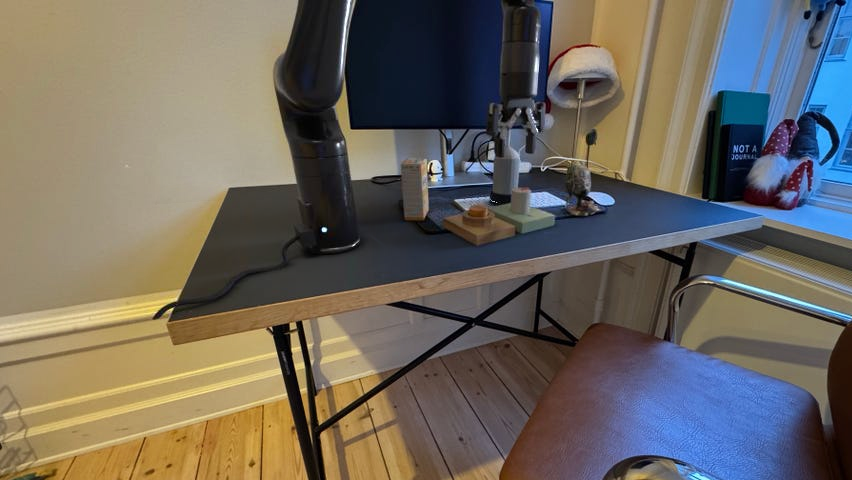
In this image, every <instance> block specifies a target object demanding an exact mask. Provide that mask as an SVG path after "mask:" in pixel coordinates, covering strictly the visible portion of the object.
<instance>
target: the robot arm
mask: <svg viewBox="0 0 852 480" xmlns="http://www.w3.org/2000/svg"><path fill="white" fill-rule="evenodd" d="M500 1H501V2H500V4H501V8H502V14H503V15H502V16H503V20H502V41H501V43H502V44H501V52H500V63H499V64H500V67H499V96H500V98H501V100H500V102H499V103H495V102H489V103H487V105H486V107H487V108H486V121H485V122H486V123H485V124H486V125H485V134H486V135H487V136H489V137H492V138H493V142H494V143H493V144H494V145H493V153H494V156H495V155H496V157H499V158H503V157H504V154H505V144H506V133H507V132H508V130H510V131H511V129H512V128H513V127H517V126H521V127H522V128H523V129H524V131H525V133H526V135H525V148H524V151H525V153H526V154H529V155H534V153H535V151H536V148H537V145H536V144H537V136H538V135H539V134H540V133H544V131H545V127H546V126H545V125H546V124H545V123H546V102H545V101H535V97H536V96H537V95H538V82H539V67H540V37H541V12H540V11H541V10H540V9H539V7H537V6H535V0H500ZM356 4H357V0H297V6H296V11H295V15H294V20H293V24H292V28H291V31H290V36H289V39H288V42H287V46H286V49H285V51H283V52H282V53H280V55H279V56H278V57H277V58H276V59H275V60H274V61H275V62H274V64H273V68H272V81H273V86H274V92H275V96H276V101H277V106H278V110H279V115H280V120H281V123H282V129H283V133H284V135H285V138H286V142H287V145H288V149H289V153H290V156H291V157H290V158H291V162H292V166H293V167H292V168H293V172H294V176H295V177H294V178H295V183H296V186H297V191H298V196H297V198H296V199H297V203H298V209H299V213H300V218H301V222H302V223H300V224H294V225H293V227H294V231H295V236H294V237H293V238H291V239H290V240H288V241H287V242H286V243H285V244H284V245H283V247H282V249H281V256H282V261H281V262H280V263H279V264H278V265H276V266H272V267H264V268H252V269H247V270H244V271H241V272H239V273H237V274H236V275H234V276H233V277H232V278H230V279H229V281H228V282H227V283H226V285H225V286H224V287H223V288H222V289H221V290H219V291H218V292H215V293H213V294H211V295H207V296H203V297H198V298H189V299H181V300H175V301H173V302H169V303H167V304H165V305H164V306H162V307H161V308H160V309H159V310H157V312H156V313H155V314H154V315H153V317H152V319H151V320H152V321H155V320H158V319H160V318H162V317H163V316H164V314H166V312H168V311H170V310H171V309H174V308H177V307H181V306H187V305H197V304H203V303H207V302H208V303H209V302H212V301H214V300H217V299H218V298H220V297H222V296H224V295H226V294H227V293H228V292H229V291H230V289H231V288H232V287H233V285H234V284H235V283H236V282H237V281H238V280H239V279H241V278H243V277H245V276H249V275H253V274H260V273H261V274H262V273H266V272H272V271H276V270H279V269H282V268H284V267H285V266H286V265H287V264H288V261H289V259H288V258H289V257H288V255H287V250H288V249H289V247H291V245H293V244H294V243H295V242H297V241H298V243H299V245H300V246H301V247H302V248H303V249H304V248H309V250H310V251H311V252H312V253H313V255H315V256H316V255H321V254H323V255H325V254H326V255H327V254H328V255H330V254H339V253H345V252H348V251H351V250H353V249H355V248H357V247H358V246H360V244H361V237H360V232H359V226H358V220H357V219H358V218H357V211H356V204H355V197H354V188H353V182H352V174H351V168H350V161H349V154H348V146H347V139H346V137H345V135H344V133H343V130H342V127H341V124H340V122H339V116H338V111H337V103H338V102H339V100H340V99H341V96H342V94H343V89H344V83H345V73H346V61H347V50H348V44H349V43H348V42H349V36H350V35H349V34H350V28H351V22H352V18H353V16H354V15H353V14H354V11H355V8H356ZM177 301H178V303H177ZM176 304H177V305H176Z"/></svg>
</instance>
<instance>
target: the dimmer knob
mask: <svg viewBox="0 0 852 480" xmlns="http://www.w3.org/2000/svg"><path fill="white" fill-rule="evenodd" d="M531 197H532V190H531V189H530V187H528V186H526V187H518V188H513V189H512V194H511V212H513V213H516V214H526V213H529V211H530V206H531Z"/></svg>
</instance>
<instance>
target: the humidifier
mask: <svg viewBox="0 0 852 480" xmlns="http://www.w3.org/2000/svg"><path fill="white" fill-rule="evenodd" d="M510 142H511V129H510V130H508V132H507V133H506V135H505V154H504V157H503V158H499V157H496V155H495V154H494V156H493V169H492V170H493V171H492V190H491V191H490V193H489V204H490V205H491V206H493V207H494V206H499V205H504V204H509V203H511V194H512V189H513V188H519V177H520V162H521V159H520V154H519V153H518V151H517V150H515V149H514V148H513V147H511V145H510ZM490 199H491V200H492V201H495V202H492V201H491V200H490ZM496 202H497V203H496Z"/></svg>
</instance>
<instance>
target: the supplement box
mask: <svg viewBox="0 0 852 480" xmlns="http://www.w3.org/2000/svg"><path fill="white" fill-rule="evenodd" d="M400 174H401V175H400V176H401V187H402V188H401V189H402V200H403V201H402V203H403V215H404V216H403V217H404V221H425V218H426V216H427V214H428V212H429V209H430V208H429V207H430V206H429V185H428V183H429V182H428V180H429V179H428V158H425V157H408V158H406V159H405V160H404V161H402V162H401V163H400Z"/></svg>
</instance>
